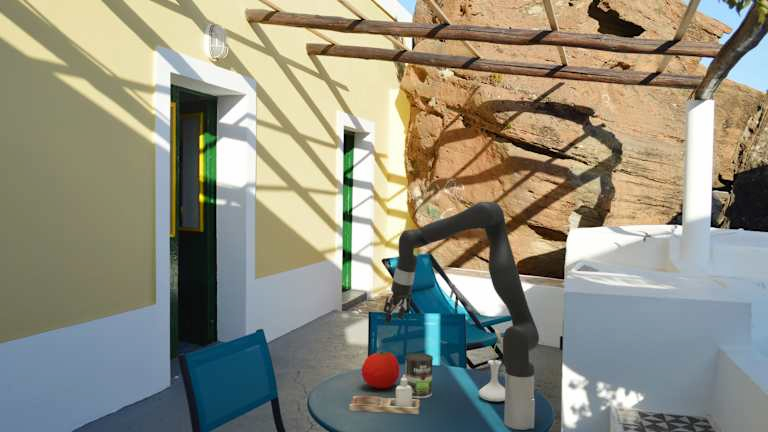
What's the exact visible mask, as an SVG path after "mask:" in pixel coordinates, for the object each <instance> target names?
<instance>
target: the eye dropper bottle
mask: <svg viewBox="0 0 768 432" xmlns="http://www.w3.org/2000/svg"><path fill="white" fill-rule="evenodd" d="M395 398H396V405H395V406H401V407H413V406H412V399H413V398H412V388H411V386H409V385H407V378H405V374H403V375H402V377H401V378H400V383H399V385H398V386H396V387H395Z"/></svg>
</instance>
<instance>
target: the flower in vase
mask: <svg viewBox="0 0 768 432" xmlns="http://www.w3.org/2000/svg"><path fill="white" fill-rule="evenodd" d="M494 332H495V336H496V337H497V341H496V343H495V345H494V348H493V349H492V353H493V356H492V357H491V358H493V359H491V360H487V363H488V364H489V367H490V373H491V377H490V381H489V382H488V383H487V384H486V385H484V386H483V387H481V388H480V390H479V391H478V393H477V394H478V396H479V397H480V398H482V399H483V400H486V401H489V402H503V401H504V402H505V386H503V385H502V384H501V383H500V382H499V380H498V376H499V375H498V373H499V368H500V366H501V364H502V361H500V360H497V359H495V358H496V357H499V354H498V353H496V351H495V350H496V346H497V344H498V343H500V344H501V346H502V347H503V336H501V335H500V334H501V333H500V332H499V331H498V329H495V330H494Z"/></svg>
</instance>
